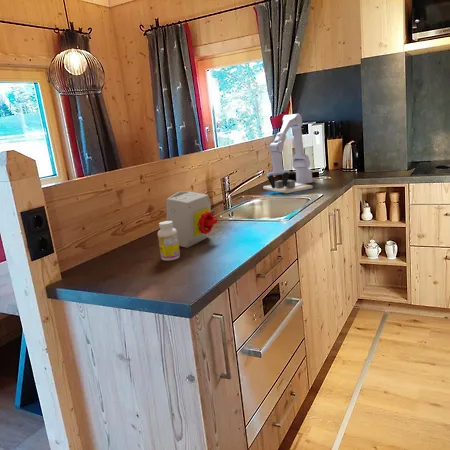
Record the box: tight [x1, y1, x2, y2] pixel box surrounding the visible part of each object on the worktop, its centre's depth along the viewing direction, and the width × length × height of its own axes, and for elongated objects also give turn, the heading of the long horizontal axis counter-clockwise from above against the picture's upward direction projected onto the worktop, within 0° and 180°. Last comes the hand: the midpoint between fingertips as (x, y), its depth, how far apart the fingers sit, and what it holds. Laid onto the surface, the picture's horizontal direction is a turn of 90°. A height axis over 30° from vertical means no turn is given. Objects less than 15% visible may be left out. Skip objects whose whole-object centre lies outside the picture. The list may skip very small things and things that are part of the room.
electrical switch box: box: [165, 190, 218, 249], centre depth 163 cm, size 15×15×20 cm
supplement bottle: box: [157, 220, 181, 262], centre depth 148 cm, size 7×7×13 cm
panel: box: [262, 183, 313, 194], centre depth 260 cm, size 18×26×2 cm
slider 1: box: [275, 179, 285, 188], centre depth 255 cm, size 4×4×4 cm
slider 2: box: [285, 179, 296, 188], centre depth 252 cm, size 4×4×4 cm
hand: (279, 187), depth 250 cm, fingers open, 7 cm apart
